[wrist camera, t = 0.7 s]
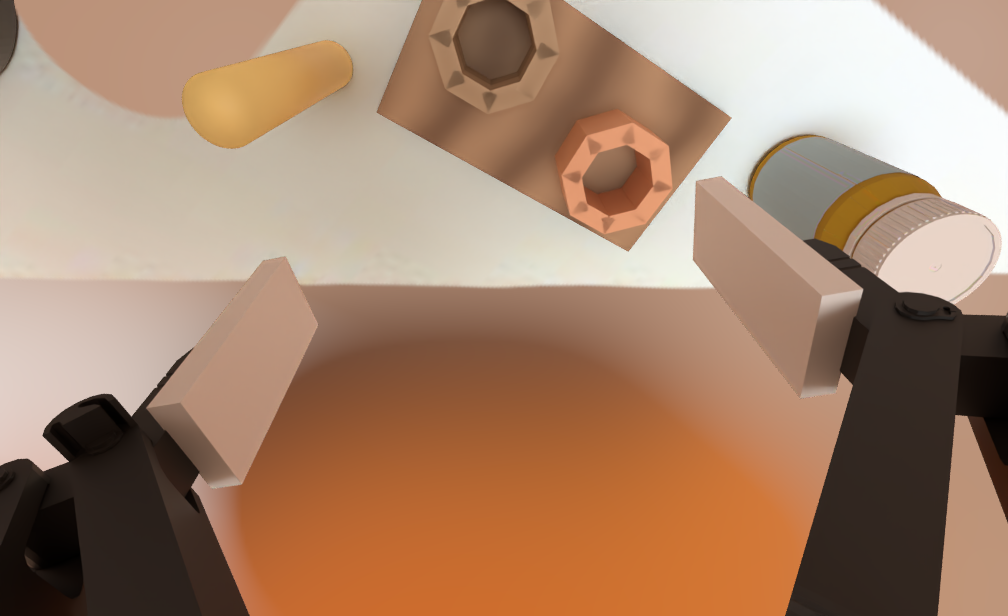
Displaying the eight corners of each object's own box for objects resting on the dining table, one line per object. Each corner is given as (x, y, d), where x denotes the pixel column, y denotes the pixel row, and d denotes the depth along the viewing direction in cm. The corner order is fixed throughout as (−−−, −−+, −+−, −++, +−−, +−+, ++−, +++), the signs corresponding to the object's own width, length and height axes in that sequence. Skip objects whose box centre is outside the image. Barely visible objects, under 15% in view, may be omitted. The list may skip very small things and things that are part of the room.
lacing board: (379, 108, 35) (376, 112, 34) (454, -75, 30) (453, -77, 29) (624, 245, 41) (628, 251, 40) (724, 114, 36) (731, 117, 35)
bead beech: (422, 61, 33) (413, 70, 29) (472, -52, 29) (468, -59, 26) (514, 116, 34) (516, 131, 31) (569, 15, 31) (579, 18, 27)
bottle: (729, 177, 38) (845, 266, 26) (815, 112, 36) (990, 175, 23) (771, 236, 41) (893, 343, 28) (853, 180, 39) (1027, 270, 26)
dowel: (302, 74, 34) (175, 125, 20) (316, 31, 33) (189, 55, 19) (344, 97, 35) (248, 161, 21) (359, 55, 33) (267, 96, 20)
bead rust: (539, 180, 37) (545, 201, 33) (593, 93, 34) (606, 105, 30) (614, 222, 39) (627, 247, 35) (672, 144, 36) (693, 161, 32)
